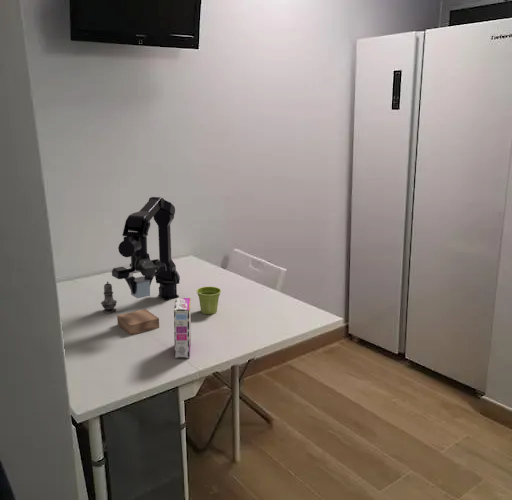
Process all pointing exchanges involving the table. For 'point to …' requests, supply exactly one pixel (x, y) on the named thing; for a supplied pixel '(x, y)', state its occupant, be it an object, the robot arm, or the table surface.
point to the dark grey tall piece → (108, 299)
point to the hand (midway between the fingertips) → (140, 292)
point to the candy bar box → (182, 327)
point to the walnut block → (138, 321)
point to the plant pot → (208, 299)
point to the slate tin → (141, 287)
